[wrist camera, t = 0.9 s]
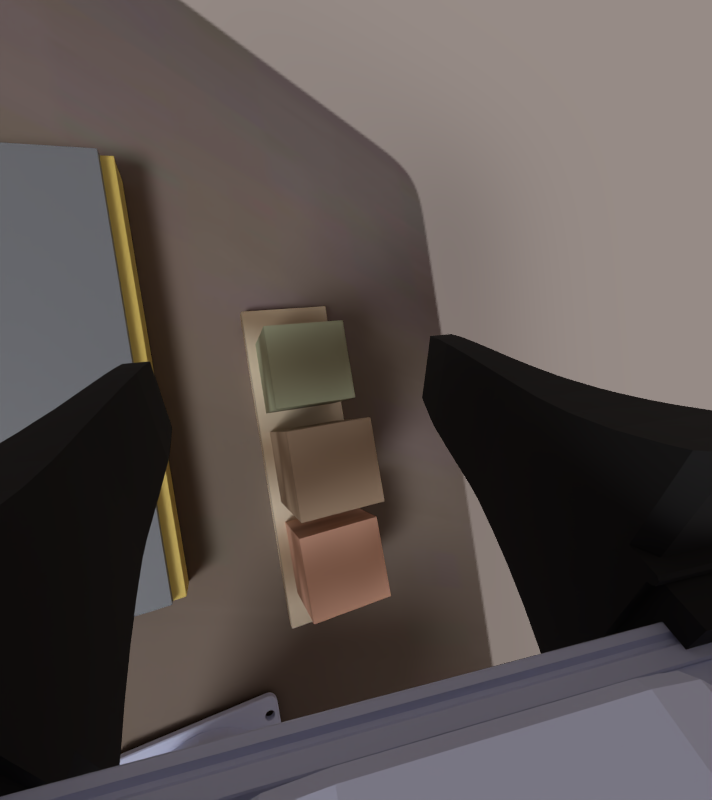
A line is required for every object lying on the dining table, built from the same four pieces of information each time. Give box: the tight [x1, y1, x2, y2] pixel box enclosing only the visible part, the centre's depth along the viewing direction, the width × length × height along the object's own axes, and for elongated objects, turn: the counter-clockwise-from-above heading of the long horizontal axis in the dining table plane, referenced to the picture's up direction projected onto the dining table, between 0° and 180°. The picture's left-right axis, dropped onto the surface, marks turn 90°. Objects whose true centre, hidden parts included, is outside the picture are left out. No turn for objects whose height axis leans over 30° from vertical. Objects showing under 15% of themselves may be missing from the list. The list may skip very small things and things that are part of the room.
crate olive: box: [255, 320, 355, 414], centre depth 21 cm, size 4×4×4 cm
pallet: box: [240, 306, 384, 629], centre depth 21 cm, size 18×5×7 cm, turn 10°
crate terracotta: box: [285, 508, 391, 624], centre depth 21 cm, size 4×4×4 cm
